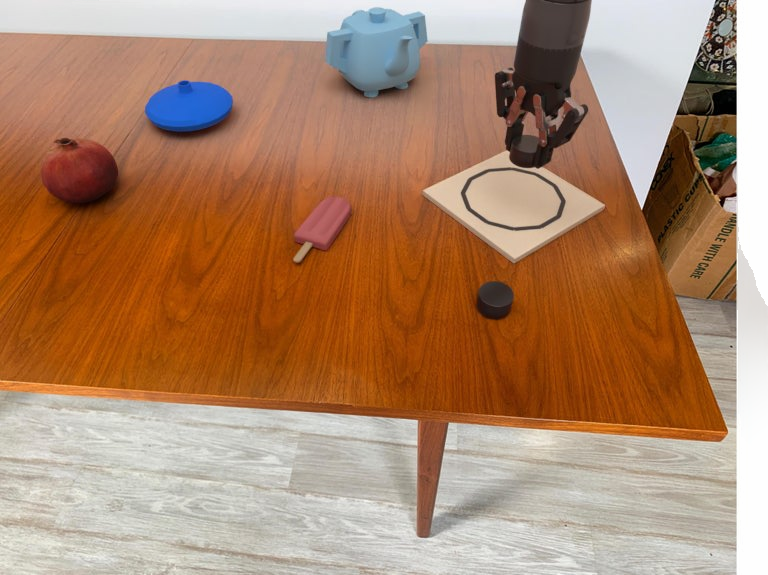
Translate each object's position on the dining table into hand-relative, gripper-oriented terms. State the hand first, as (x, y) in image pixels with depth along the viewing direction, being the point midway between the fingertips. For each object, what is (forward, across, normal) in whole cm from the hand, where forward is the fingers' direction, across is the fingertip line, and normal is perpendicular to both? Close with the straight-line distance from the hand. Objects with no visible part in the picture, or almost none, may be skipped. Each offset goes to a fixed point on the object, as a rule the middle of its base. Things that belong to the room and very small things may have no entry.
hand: (525, 156), depth 80 cm
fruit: (+12, +45, +49) cm, 68 cm away
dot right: (+11, -11, +15) cm, 22 cm away
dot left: (0, 0, 0) cm, 0 cm away
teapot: (+12, +46, -10) cm, 49 cm away
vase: (+12, +57, +26) cm, 64 cm away
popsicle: (+12, +15, +25) cm, 31 cm away
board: (+11, +3, -3) cm, 12 cm away
